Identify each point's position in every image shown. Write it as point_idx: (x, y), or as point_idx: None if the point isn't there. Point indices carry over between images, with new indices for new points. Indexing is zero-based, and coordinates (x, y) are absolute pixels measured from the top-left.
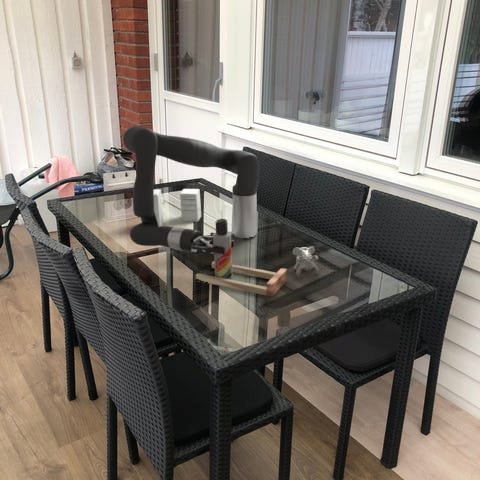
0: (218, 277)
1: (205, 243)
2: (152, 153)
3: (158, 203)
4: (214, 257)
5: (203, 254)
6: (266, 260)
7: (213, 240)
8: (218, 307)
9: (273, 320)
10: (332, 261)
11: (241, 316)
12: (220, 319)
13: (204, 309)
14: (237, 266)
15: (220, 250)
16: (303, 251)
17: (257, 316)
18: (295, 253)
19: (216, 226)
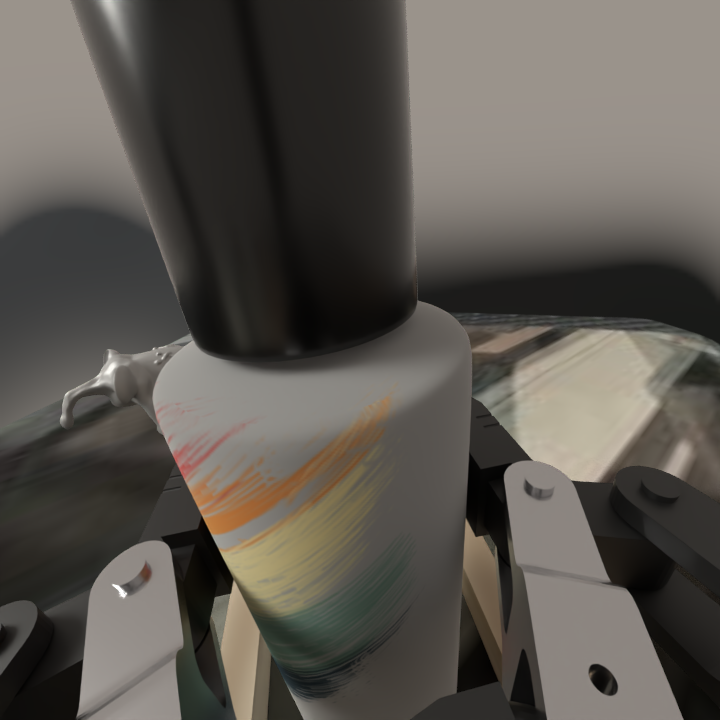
0: (486, 609)
1: (640, 650)
2: None
3: None
4: (454, 635)
5: (709, 610)
6: (41, 587)
7: (456, 467)
8: (623, 452)
9: (490, 347)
10: (96, 402)
11: (560, 384)
12: (647, 405)
13: (711, 480)
14: (243, 618)
15: (476, 409)
16: (147, 356)
17: (514, 367)
18: (132, 389)
19: (404, 116)
